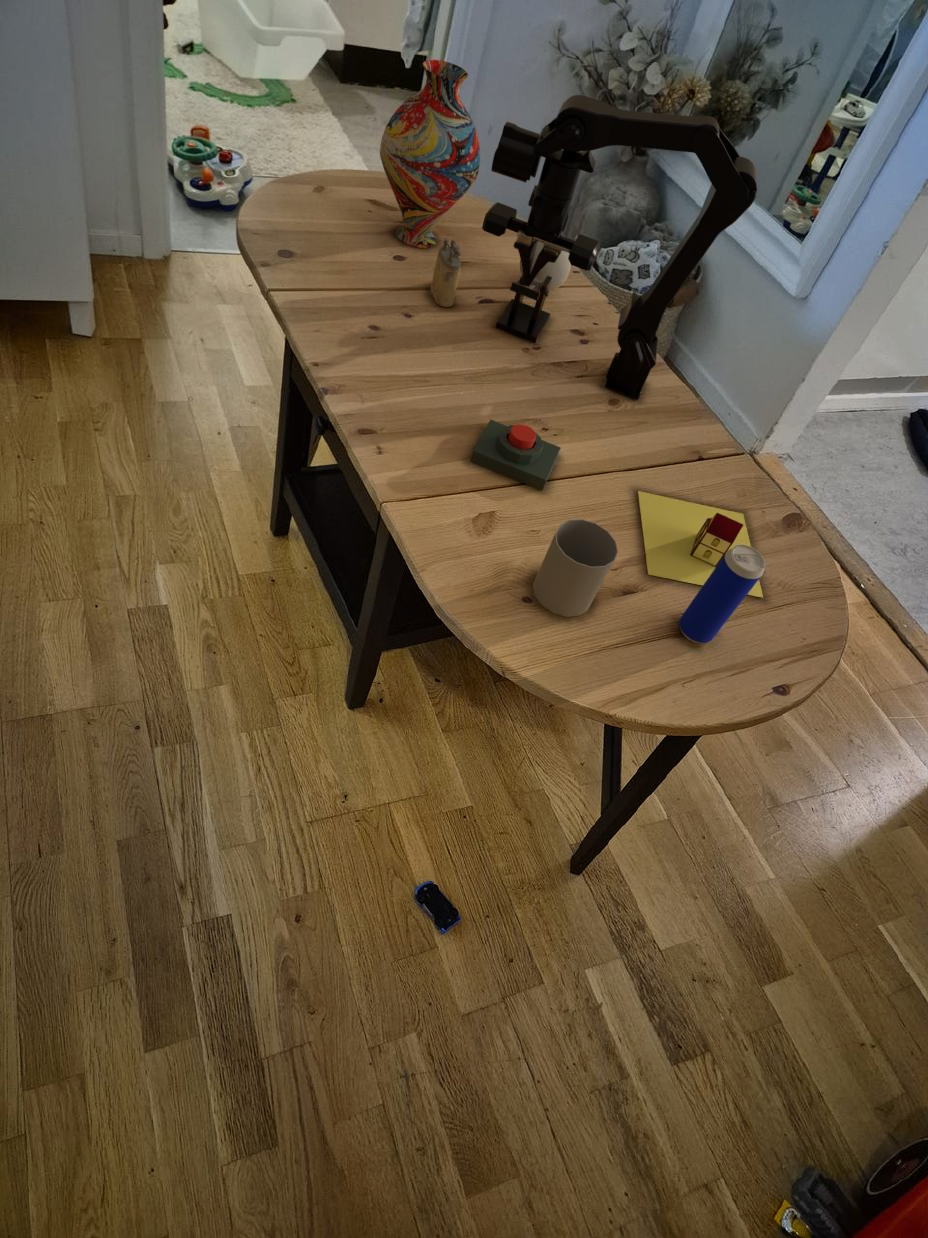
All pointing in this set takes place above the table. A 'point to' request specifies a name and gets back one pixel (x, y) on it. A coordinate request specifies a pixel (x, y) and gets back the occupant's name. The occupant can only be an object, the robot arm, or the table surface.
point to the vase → (430, 152)
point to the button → (522, 437)
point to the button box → (515, 456)
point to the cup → (574, 567)
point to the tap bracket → (525, 315)
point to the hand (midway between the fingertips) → (527, 285)
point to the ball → (552, 268)
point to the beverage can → (722, 593)
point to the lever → (528, 289)
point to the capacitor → (446, 274)
